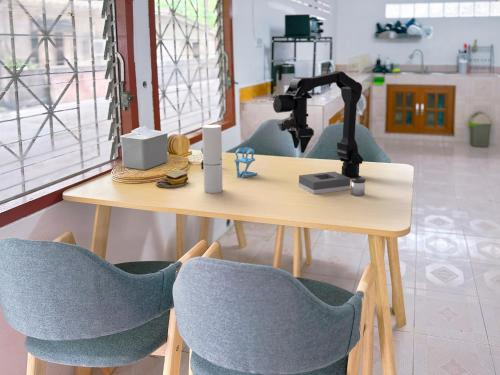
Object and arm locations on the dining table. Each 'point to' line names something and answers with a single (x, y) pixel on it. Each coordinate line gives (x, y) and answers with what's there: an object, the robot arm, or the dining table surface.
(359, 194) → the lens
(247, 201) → the dining table surface
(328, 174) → the grey plate with pocket
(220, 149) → the cylindrical container
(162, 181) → the toy sandwich meal
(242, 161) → the chair
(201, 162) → the watch
